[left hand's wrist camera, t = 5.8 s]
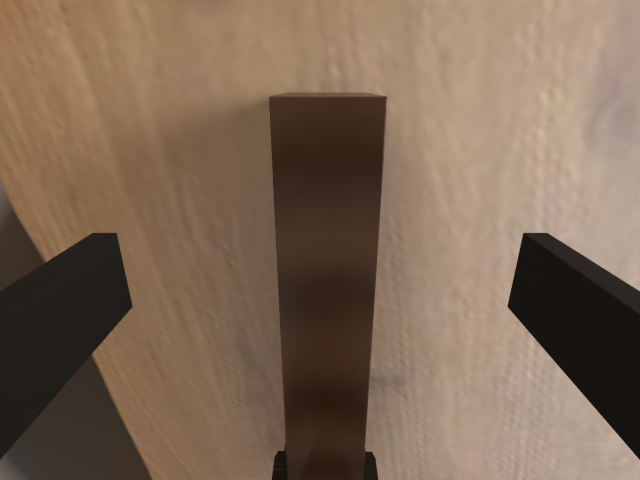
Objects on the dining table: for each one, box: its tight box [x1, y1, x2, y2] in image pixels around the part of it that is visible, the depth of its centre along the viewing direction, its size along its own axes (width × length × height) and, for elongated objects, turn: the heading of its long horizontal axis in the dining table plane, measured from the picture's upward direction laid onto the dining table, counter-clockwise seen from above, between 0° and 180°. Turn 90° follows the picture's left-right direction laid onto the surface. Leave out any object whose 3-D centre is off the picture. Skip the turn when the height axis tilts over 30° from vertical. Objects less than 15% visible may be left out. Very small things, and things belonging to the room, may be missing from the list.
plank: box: [269, 93, 387, 480], centre depth 23 cm, size 30×4×7 cm, turn 0°
